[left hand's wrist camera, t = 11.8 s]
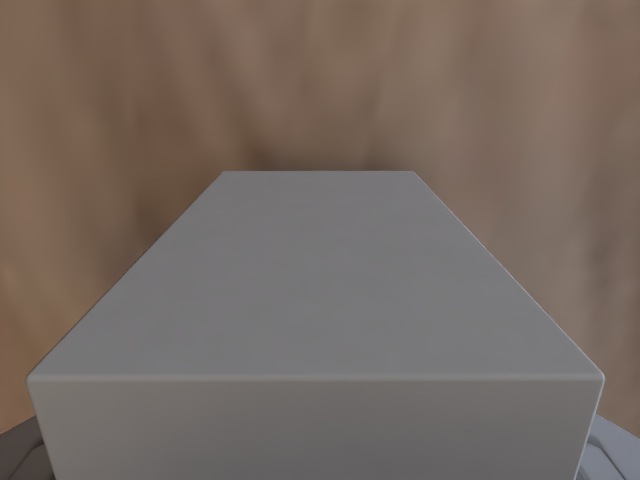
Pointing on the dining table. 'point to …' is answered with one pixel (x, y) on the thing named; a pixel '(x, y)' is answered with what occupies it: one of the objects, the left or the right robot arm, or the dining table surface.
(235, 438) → the bar
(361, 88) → the dining table surface
